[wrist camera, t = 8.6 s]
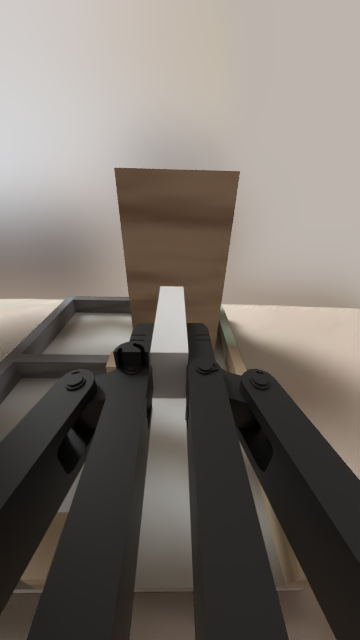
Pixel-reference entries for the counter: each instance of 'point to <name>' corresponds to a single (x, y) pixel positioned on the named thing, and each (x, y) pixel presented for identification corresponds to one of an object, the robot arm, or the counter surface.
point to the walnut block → (176, 238)
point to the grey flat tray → (164, 445)
